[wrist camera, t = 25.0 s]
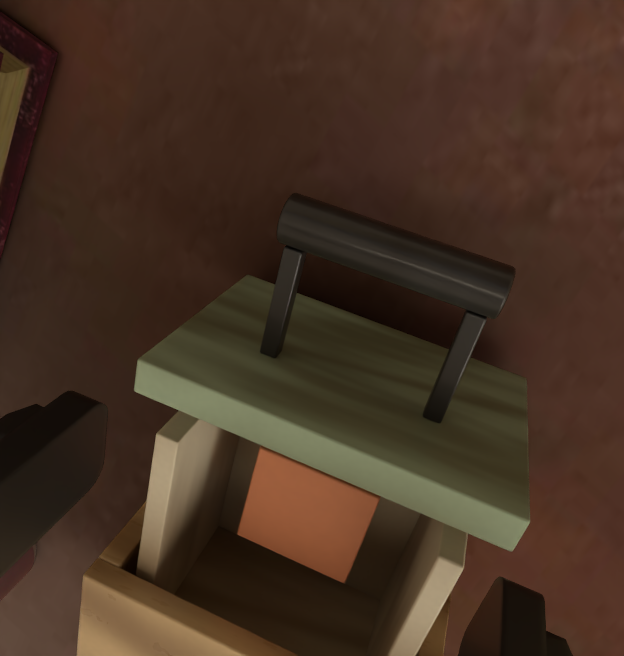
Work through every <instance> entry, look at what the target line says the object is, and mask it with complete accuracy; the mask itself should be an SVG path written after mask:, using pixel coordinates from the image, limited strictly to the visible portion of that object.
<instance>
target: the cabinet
mask: <svg viewBox="0 0 624 656" xmlns="http://www.w3.org/2000/svg"><path fill="white" fill-rule="evenodd" d="M145 508H146V502H145V503H144V504H143V505H142V507H141V508H140V509H139V510H138V511H137V512H136V514H135V515H134V516H133V517H132V518H131V519H130V521H129V522H128V523H127V524H126V525H125V526H124V528H123V529H122V530H121V531H120V532H119V533H118V535H117V536H116V537H115V538H114V539H113V541H112V542H111V543H110V544H109V545H108V546H107V548H106V549H105V550H104V551H103V552H102V553H101V555H100V556H99V558H98V559H96V561H95V562H94V563H93V564H92V565H91V566H90V568H89V569H88V570H87V571H86V572H85V574H84V575H83V581H82V594H81V607H80V619H79V632H78V645H77V656H299V655H297V654H295V653H293V652H291V651H289V650H287V649H285V648H283V647H281V646H279V645H277V644H275V643H273V642H271V641H269V640H266V639H264V638H262V637H260V636H258V635H256V634H254V633H252V632H250V631H248V630H246V629H244V628H242V627H240V626H238V625H236V624H234V623H232V622H230V621H227V620H225V619H223V618H221V617H219V616H217V615H215V614H213V613H211V612H209V611H207V610H205V609H203V608H201V607H199V606H197V605H195V604H193V603H191V602H188V601H186V600H184V599H182V598H180V597H178V596H176V595H174V594H172V593H170V592H168V591H166V590H164V589H162V588H160V587H158V586H156V585H154V584H152V583H149V582H147V581H145V580H143V579H141V578H139V577H137V576H136V570H137V563H138V556H139V549H140V542H141V535H142V528H143V521H144V515H145ZM451 592H452V591H451ZM450 600H451V593H450V594H449V596H448V598H447V600H446V602H445V603H444V605H443V607H442V609H441V611H440V613H439V614H438V616H437V618H436V620H435V622H434V623H433V625H432V627H431V629H430V631H429V632H428V634H427V636H426V638H425V640H424V642H423V643H422V645H421V647H420V649H419V651H418V652H417V654H416V656H443V654H444V647H445V639H446V631H447V623H448V615H449V608H450Z"/></svg>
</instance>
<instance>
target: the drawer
mask: <svg viewBox="0 0 624 656" xmlns="http://www.w3.org/2000/svg"><path fill="white" fill-rule="evenodd" d="M277 240H278V241H279V242H280V243H282V244H285V245H286V246H285V247H284V249H283V253H282V258H281V262H280V266H279V271H278V275H277V279H276V283H275V284H272V283H269V282H266V281H264V280H261V279H258V278H256V277H253V276H250V275H246V276H245V277H244V278H242V279H241V280H240V281H238V282H237V283H236V284H234V285H233V286H232V287H231V288H229V289H228V290H227V291H225V292H224V293H223V294H222V295H220V296H219V297H218V298H216V299H215V300H214V301H213V302H211V303H210V304H209V305H207V306H206V307H205V308H203V309H202V310H201V311H200V312H198V313H197V314H196V315H194V316H193V317H192V318H191V319H189V320H188V321H187V322H185V323H184V324H183V325H181V326H180V327H179V328H178V329H176V330H175V331H174V332H172V333H171V334H170V335H169V336H167V337H166V338H165V339H163V340H162V341H161V342H159V343H158V344H157V345H156V346H154V347H153V348H152V349H150V350H149V351H148V352H147V353H145V354H144V355H143V356H141V357H140V358H139V359H138V361H137V369H136V377H135V386H134V391H135V392H137V393H139V394H142V395H144V396H146V397H149V398H151V399H153V400H156V401H158V402H160V403H163V404H165V405H167V406H170V407H172V408H175V409H177V410H179V411H178V412H177V413H176V414H175V415H174V416H173V417H172V418H171V419H170V420H169V421H168V422H167V423H166V424H165V425H164V426H163V427H162V428H161V429H160V430H159V431H158V432H157V433H156V439H155V446H154V453H153V459H152V466H151V473H150V480H149V487H148V494H147V501H146V508H145V515H144V521H143V528H142V535H141V542H140V549H139V556H138V563H137V570H136V576H137V577H139V578H141V579H143V580H145V581H147V582H149V583H152V584H154V585H156V586H158V587H160V588H162V589H164V590H166V591H168V592H170V593H172V594H174V595H176V596H178V597H180V598H182V599H184V600H186V601H188V602H191V603H193V604H195V605H197V606H199V607H201V608H203V609H205V610H207V611H209V612H211V613H213V614H215V615H217V616H219V617H221V618H223V619H225V620H227V621H230V622H232V623H234V624H236V625H238V626H240V627H242V628H244V629H246V630H248V631H250V632H252V633H254V634H256V635H258V636H260V637H262V638H264V639H266V640H269V641H271V642H273V643H275V644H277V645H279V646H281V647H283V648H285V649H287V650H289V651H291V652H293V653H295V654H297V655H299V656H416V654H417V652H418V651H419V649H420V647H421V645H422V643H423V642H424V640H425V638H426V636H427V634H428V632H429V631H430V629H431V627H432V625H433V623H434V622H435V620H436V618H437V616H438V614H439V613H440V611H441V609H442V607H443V605H444V603H445V602H446V600H447V598H448V596H449V594H450V593H451V591H452V589H453V587H454V585H455V584H456V582H457V580H458V578H459V576H460V574H461V573H462V571H463V569H464V564H465V555H466V546H467V536H468V534H471V535H473V536H475V537H478V538H480V539H482V540H485V541H487V542H489V543H492V544H494V545H496V546H499V547H501V548H504V549H506V550H508V551H513V550H514V548H515V547H516V545H517V543H518V542H519V540H520V538H521V537H522V535H523V533H524V532H525V530H526V528H527V527H528V525H529V523H530V501H529V459H528V417H527V379H526V378H524V377H522V376H519V375H516V374H514V373H511V372H508V371H506V370H503V369H500V368H498V367H495V366H492V365H490V364H487V363H484V362H481V361H479V360H476V359H473V358H471V354H472V352H473V350H474V348H475V345H476V343H477V341H478V339H479V336H480V334H481V332H482V330H483V327H484V325H485V323H486V320H487V317H488V318H491V319H495V318H496V317H497V316H498V315H499V314H500V312H501V310H502V308H503V306H504V304H505V302H506V300H507V297H508V295H509V292H510V290H511V287H512V284H513V281H514V277H515V268H514V267H513V266H510V265H507V264H504V263H501V262H498V261H495V260H492V259H489V258H486V257H483V256H480V255H477V254H474V253H471V252H469V251H466V250H463V249H460V248H457V247H454V246H451V245H448V244H445V243H442V242H439V241H436V240H433V239H430V238H427V237H424V236H422V235H419V234H416V233H413V232H410V231H407V230H404V229H401V228H398V227H395V226H392V225H389V224H386V223H383V222H380V221H377V220H375V219H372V218H369V217H366V216H363V215H360V214H357V213H354V212H351V211H348V210H345V209H342V208H339V207H336V206H333V205H330V204H327V203H325V202H322V201H319V200H316V199H313V198H310V197H307V196H304V195H301V194H298V193H293V194H292V195H291V196H290V197H289V198H288V200H287V201H286V203H285V205H284V207H283V209H282V212H281V214H280V218H279V221H278V226H277ZM307 253H310V254H313V255H315V256H318V257H321V258H324V259H326V260H329V261H332V262H335V263H338V264H340V265H343V266H346V267H349V268H352V269H354V270H357V271H360V272H363V273H366V274H368V275H371V276H374V277H377V278H380V279H382V280H385V281H388V282H391V283H394V284H396V285H399V286H402V287H405V288H407V289H410V290H413V291H416V292H419V293H421V294H424V295H427V296H430V297H433V298H435V299H438V300H441V301H444V302H447V303H449V304H452V305H455V306H458V307H461V308H463V309H466V310H465V312H464V315H463V317H462V320H461V322H460V324H459V327H458V329H457V331H456V334H455V336H454V339H453V341H452V343H451V346H450V348H449V349H447V348H444V347H441V346H438V345H436V344H433V343H430V342H428V341H425V340H422V339H420V338H417V337H414V336H412V335H409V334H406V333H404V332H401V331H398V330H395V329H393V328H390V327H387V326H385V325H382V324H379V323H377V322H374V321H371V320H369V319H366V318H363V317H361V316H358V315H355V314H352V313H350V312H347V311H344V310H342V309H339V308H336V307H334V306H331V305H328V304H326V303H323V302H320V301H318V300H315V299H312V298H309V297H307V296H304V295H301V294H299V293H297V290H298V286H299V282H300V278H301V274H302V270H303V266H304V262H305V258H306V254H307ZM260 446H264V447H266V448H269V449H271V450H273V451H276V452H278V453H280V454H283V455H285V456H287V457H290V458H292V459H294V460H297V461H299V462H301V463H304V464H306V465H308V466H311V467H313V468H316V469H318V470H320V471H323V472H325V473H327V474H330V475H332V476H334V477H337V478H339V479H341V480H344V481H346V482H348V483H351V484H353V485H355V486H358V487H360V488H363V489H365V490H367V491H370V492H372V493H374V494H377V495H379V496H381V498H380V501H379V503H378V506H377V508H376V510H375V513H374V515H373V518H372V520H371V522H370V525H369V527H368V530H367V532H366V534H365V537H364V539H363V542H362V544H361V546H360V549H359V551H358V554H357V556H356V558H355V561H354V563H353V566H352V568H351V570H350V573H349V575H348V578H347V580H346V582H345V583H342V582H339V581H337V580H335V579H333V578H331V577H329V576H326V575H324V574H322V573H320V572H318V571H315V570H313V569H311V568H309V567H307V566H305V565H302V564H300V563H298V562H296V561H294V560H292V559H289V558H287V557H285V556H283V555H281V554H278V553H276V552H274V551H272V550H270V549H268V548H265V547H263V546H261V545H259V544H257V543H255V542H252V541H250V540H248V539H246V538H244V537H241V536H239V535H238V534H237V532H238V528H239V524H240V520H241V516H242V513H243V509H244V505H245V501H246V497H247V494H248V490H249V486H250V482H251V478H252V474H253V471H254V467H255V463H256V459H257V455H258V452H259V448H260Z"/></svg>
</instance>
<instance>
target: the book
mask: <svg viewBox="0 0 624 656" xmlns="http://www.w3.org/2000/svg"><path fill="white" fill-rule="evenodd" d="M57 54H58V53H57V52H56V51H55V50H53V49H52V48H50V47H49V46H48V45H46V44H45V43H43V42H42V41H41V40H39V39H38V38H36V37H35V36H34V35H32V34H31V33H30V32H28V31H27V30H25V29H24V28H23V27H21V26H20V25H18V24H17V23H16V22H14V21H13V20H11V19H10V18H9V17H7V16H6V15H4V14H3V13H2V12H0V258H1V255H2V251H3V248H4V244H5V241H6V237H7V233H8V230H9V226H10V223H11V219H12V215H13V212H14V208H15V205H16V201H17V198H18V194H19V190H20V187H21V183H22V180H23V176H24V172H25V169H26V165H27V162H28V158H29V155H30V151H31V147H32V144H33V140H34V137H35V133H36V129H37V126H38V122H39V119H40V115H41V112H42V108H43V104H44V101H45V97H46V94H47V90H48V87H49V83H50V79H51V76H52V72H53V69H54V65H55V61H56V58H57Z"/></svg>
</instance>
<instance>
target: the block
mask: <svg viewBox="0 0 624 656" xmlns="http://www.w3.org/2000/svg"><path fill="white" fill-rule="evenodd" d="M380 498H381V496H379V495H377V494H374V493H372V492H370V491H367V490H365V489H363V488H360V487H358V486H355V485H353V484H351V483H348V482H346V481H344V480H341V479H339V478H337V477H334V476H332V475H330V474H327V473H325V472H323V471H320V470H318V469H316V468H313V467H311V466H308V465H306V464H304V463H301V462H299V461H297V460H294V459H292V458H290V457H287V456H285V455H283V454H280V453H278V452H276V451H273V450H271V449H269V448H266V447H264V446H260V448H259V452H258V455H257V459H256V463H255V467H254V471H253V474H252V478H251V482H250V486H249V490H248V494H247V497H246V501H245V505H244V509H243V513H242V516H241V520H240V524H239V528H238V532H237V534H238V535H239V536H241V537H244V538H246V539H248V540H250V541H252V542H255V543H257V544H259V545H261V546H263V547H265V548H268V549H270V550H272V551H274V552H276V553H278V554H281V555H283V556H285V557H287V558H289V559H292V560H294V561H296V562H298V563H300V564H302V565H305V566H307V567H309V568H311V569H313V570H315V571H318V572H320V573H322V574H324V575H326V576H329V577H331V578H333V579H335V580H337V581H339V582H342V583H345V582H346V580H347V578H348V575H349V573H350V570H351V568H352V566H353V563H354V561H355V558H356V556H357V554H358V551H359V549H360V546H361V544H362V542H363V539H364V537H365V534H366V532H367V530H368V527H369V525H370V522H371V520H372V518H373V515H374V513H375V510H376V508H377V506H378V503H379V501H380Z"/></svg>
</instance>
